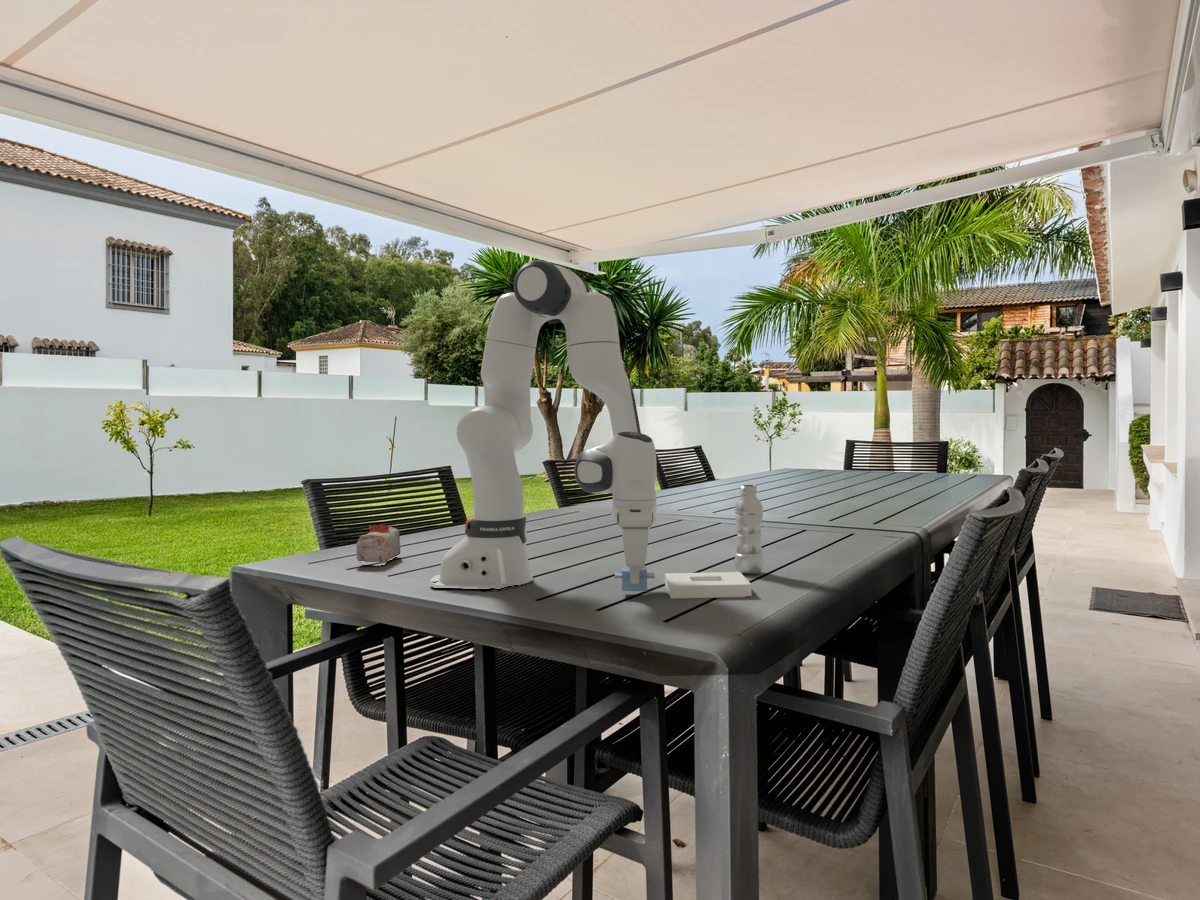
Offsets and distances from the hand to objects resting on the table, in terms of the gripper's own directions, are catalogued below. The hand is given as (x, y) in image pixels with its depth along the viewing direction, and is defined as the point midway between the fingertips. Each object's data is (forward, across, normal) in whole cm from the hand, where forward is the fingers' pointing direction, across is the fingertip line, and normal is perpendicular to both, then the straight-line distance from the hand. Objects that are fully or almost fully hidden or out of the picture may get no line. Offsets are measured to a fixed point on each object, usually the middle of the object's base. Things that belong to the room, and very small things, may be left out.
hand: (634, 580), depth 153 cm
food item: (+5, -40, -64) cm, 76 cm away
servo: (+2, 0, 0) cm, 2 cm away
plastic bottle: (+3, -19, +26) cm, 33 cm away
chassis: (+3, -3, +15) cm, 15 cm away
